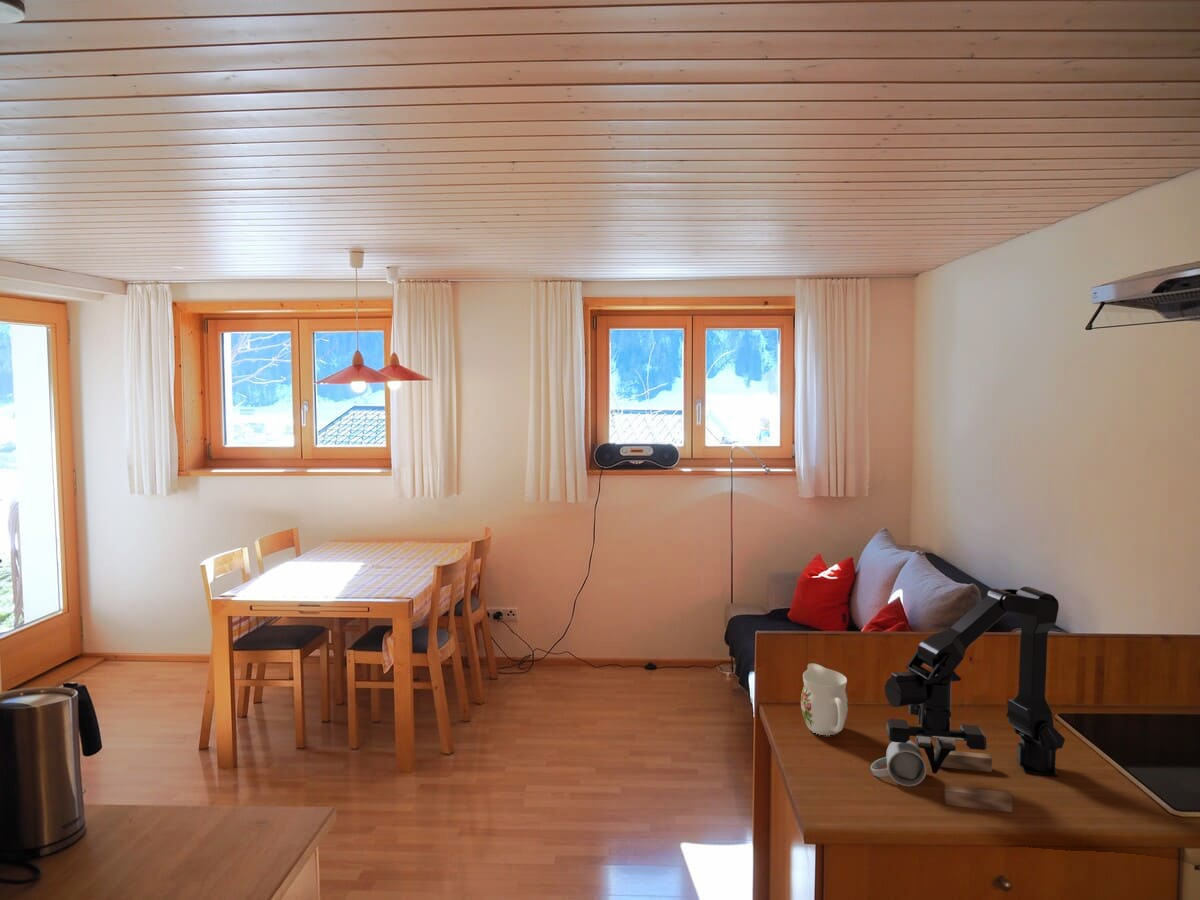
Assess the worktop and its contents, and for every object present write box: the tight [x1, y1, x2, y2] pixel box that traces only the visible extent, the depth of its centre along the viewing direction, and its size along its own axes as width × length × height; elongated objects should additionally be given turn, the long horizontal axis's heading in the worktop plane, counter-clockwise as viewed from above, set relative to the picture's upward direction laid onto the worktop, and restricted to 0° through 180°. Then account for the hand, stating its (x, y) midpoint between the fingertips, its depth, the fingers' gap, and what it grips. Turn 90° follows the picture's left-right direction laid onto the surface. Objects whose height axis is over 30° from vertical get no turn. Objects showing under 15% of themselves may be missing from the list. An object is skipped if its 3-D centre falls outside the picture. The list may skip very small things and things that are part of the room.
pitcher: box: [800, 663, 849, 737], centre depth 186 cm, size 11×18×14 cm, turn 8°
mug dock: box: [934, 748, 1014, 813], centre depth 162 cm, size 12×18×3 cm, turn 166°
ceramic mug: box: [870, 740, 927, 787], centre depth 166 cm, size 11×8×8 cm
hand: (934, 772), depth 163 cm, fingers closed
